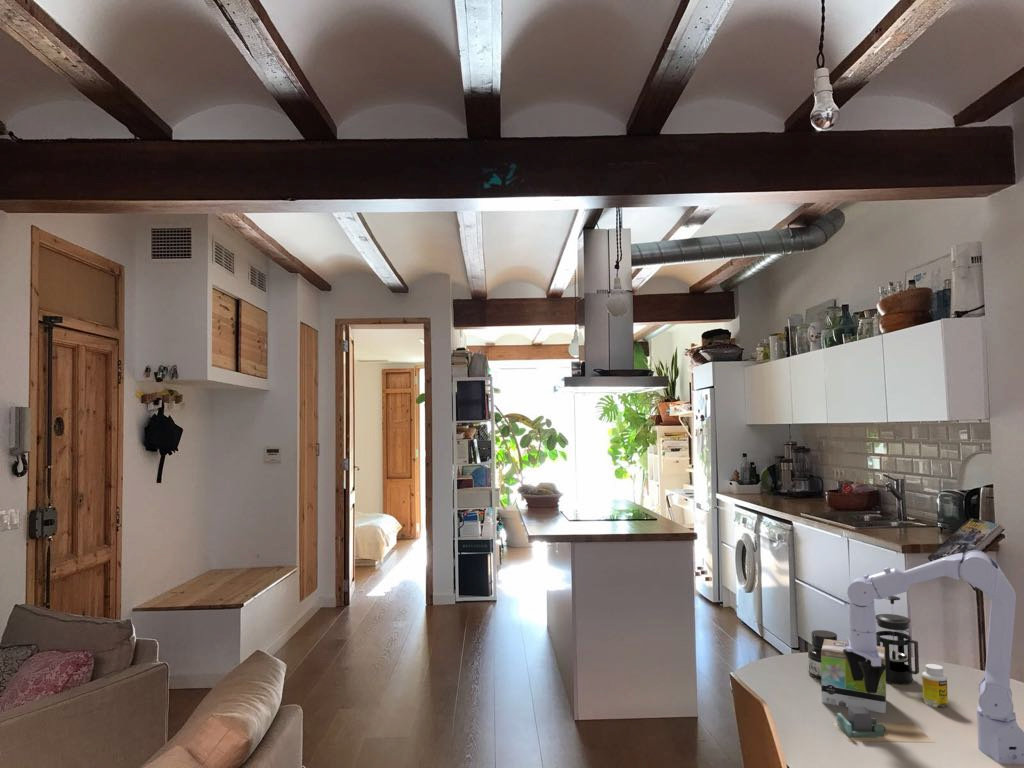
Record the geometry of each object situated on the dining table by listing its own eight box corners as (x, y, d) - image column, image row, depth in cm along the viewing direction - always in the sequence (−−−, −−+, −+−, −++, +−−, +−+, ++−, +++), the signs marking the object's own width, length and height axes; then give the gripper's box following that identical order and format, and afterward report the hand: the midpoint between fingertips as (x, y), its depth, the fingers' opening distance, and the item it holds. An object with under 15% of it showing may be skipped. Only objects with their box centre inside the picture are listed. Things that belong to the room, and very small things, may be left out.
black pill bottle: (801, 670, 212) (800, 629, 212) (828, 668, 214) (827, 627, 214) (821, 683, 202) (820, 640, 203) (849, 680, 204) (848, 637, 204)
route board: (934, 745, 165) (934, 728, 165) (849, 744, 166) (848, 727, 166) (912, 726, 175) (912, 710, 175) (832, 725, 176) (831, 709, 176)
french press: (867, 676, 207) (865, 595, 208) (883, 669, 212) (881, 590, 213) (910, 689, 197) (907, 604, 198) (925, 680, 203) (923, 598, 204)
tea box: (821, 706, 187) (819, 648, 188) (824, 692, 196) (822, 637, 196) (886, 717, 180) (884, 657, 181) (886, 702, 189) (885, 645, 189)
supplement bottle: (941, 712, 182) (940, 671, 182) (918, 705, 187) (917, 665, 187) (952, 707, 185) (950, 667, 185) (929, 700, 190) (928, 660, 190)
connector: (888, 735, 168) (888, 713, 169) (854, 735, 169) (854, 713, 169) (881, 728, 172) (881, 707, 172) (848, 728, 172) (847, 707, 172)
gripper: (834, 620, 182) (835, 674, 182) (858, 638, 168) (860, 698, 168) (862, 620, 182) (864, 675, 182) (889, 638, 168) (891, 698, 167)
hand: (864, 686), depth 175 cm, fingers open, 7 cm apart
